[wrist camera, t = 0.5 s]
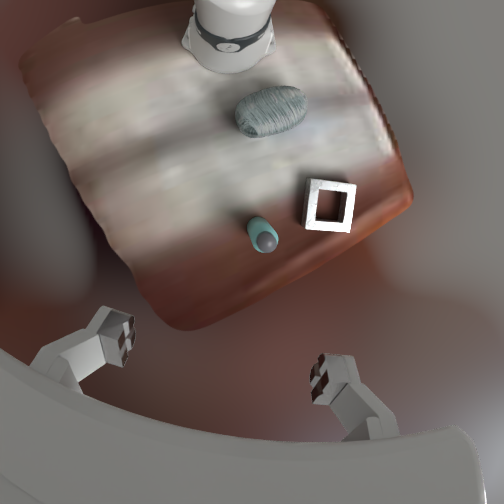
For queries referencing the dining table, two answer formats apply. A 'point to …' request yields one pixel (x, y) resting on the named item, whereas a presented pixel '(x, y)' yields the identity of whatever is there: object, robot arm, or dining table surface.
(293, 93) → the spool
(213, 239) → the dining table surface
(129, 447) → the robot arm
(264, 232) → the bottle
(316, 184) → the housing
